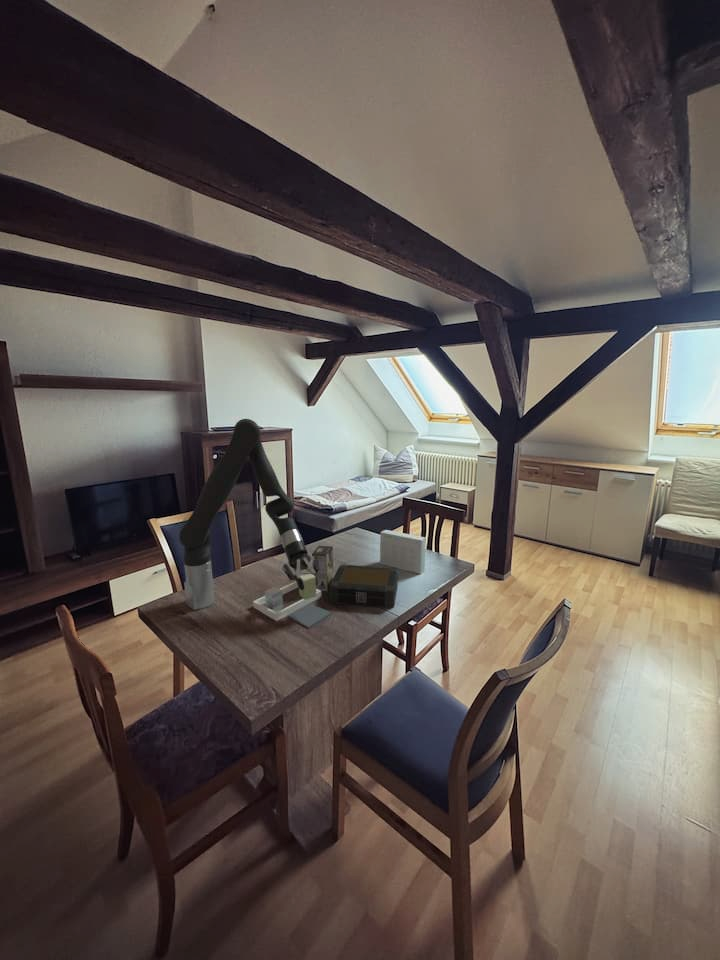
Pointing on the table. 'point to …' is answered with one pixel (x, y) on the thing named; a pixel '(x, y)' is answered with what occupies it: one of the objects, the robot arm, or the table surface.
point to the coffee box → (324, 567)
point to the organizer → (288, 610)
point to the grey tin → (274, 599)
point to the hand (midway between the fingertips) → (309, 586)
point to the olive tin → (308, 586)
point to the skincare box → (402, 551)
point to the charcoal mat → (309, 615)
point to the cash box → (364, 586)
